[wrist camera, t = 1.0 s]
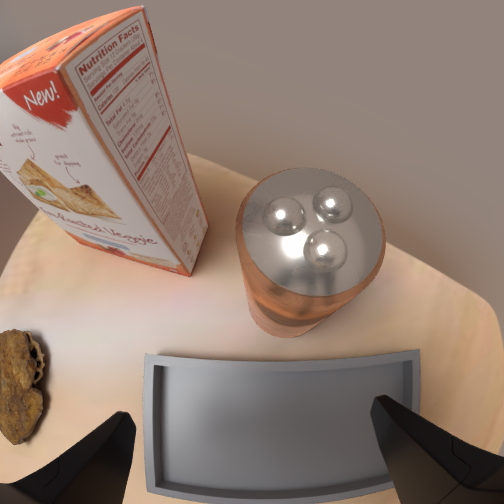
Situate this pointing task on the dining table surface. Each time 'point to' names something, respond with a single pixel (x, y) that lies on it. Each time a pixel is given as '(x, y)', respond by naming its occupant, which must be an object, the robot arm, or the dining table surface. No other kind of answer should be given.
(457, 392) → the dining table surface
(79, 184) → the cracker box
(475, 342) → the dining table surface
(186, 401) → the gray tray
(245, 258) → the copper cylinder
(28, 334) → the decorative rock
